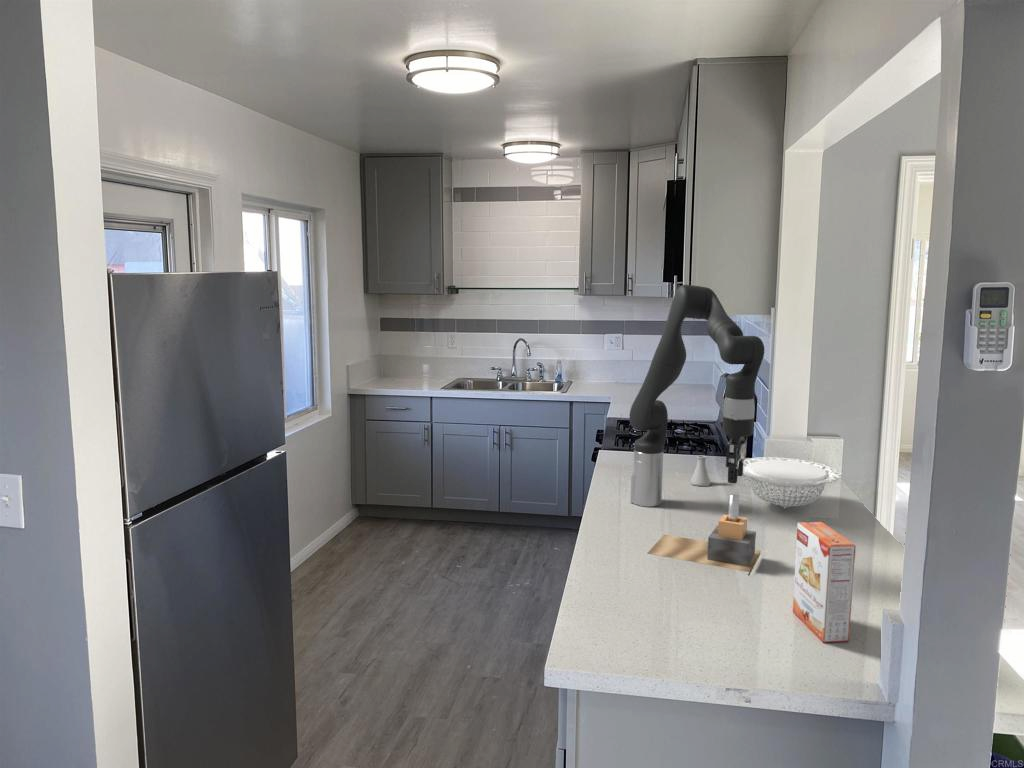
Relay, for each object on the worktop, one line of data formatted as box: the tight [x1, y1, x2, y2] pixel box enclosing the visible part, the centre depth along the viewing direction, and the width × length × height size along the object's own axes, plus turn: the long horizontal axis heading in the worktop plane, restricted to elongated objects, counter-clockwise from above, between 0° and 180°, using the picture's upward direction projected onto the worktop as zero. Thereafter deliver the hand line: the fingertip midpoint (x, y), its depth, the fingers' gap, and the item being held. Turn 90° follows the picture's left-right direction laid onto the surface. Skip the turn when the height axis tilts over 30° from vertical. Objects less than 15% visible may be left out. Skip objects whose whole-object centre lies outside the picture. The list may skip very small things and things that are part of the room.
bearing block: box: [646, 525, 761, 576], centre depth 199 cm, size 26×16×7 cm, turn 63°
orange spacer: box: [717, 514, 748, 540], centre depth 195 cm, size 6×6×4 cm
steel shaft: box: [728, 493, 740, 522], centre depth 195 cm, size 2×2×11 cm
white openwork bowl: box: [742, 456, 843, 508], centre depth 238 cm, size 32×32×13 cm
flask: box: [689, 454, 712, 487], centre depth 265 cm, size 7×7×10 cm
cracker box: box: [792, 521, 857, 643], centre depth 158 cm, size 14×6×21 cm, turn 5°
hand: (735, 479), depth 193 cm, fingers open, 7 cm apart
